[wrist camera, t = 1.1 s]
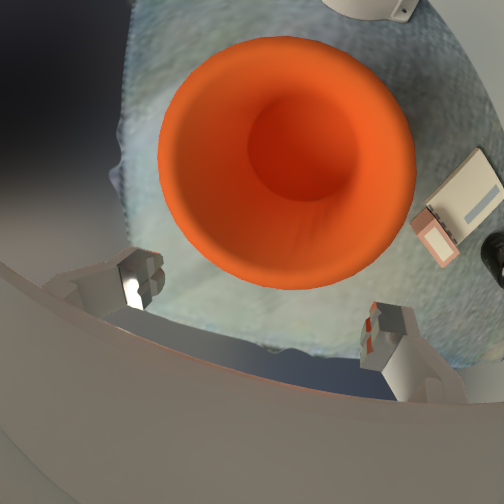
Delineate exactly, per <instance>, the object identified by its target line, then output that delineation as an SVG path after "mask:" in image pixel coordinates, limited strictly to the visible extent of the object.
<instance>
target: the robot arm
mask: <svg viewBox="0 0 504 504" xmlns="http://www.w3.org/2000/svg"><path fill="white" fill-rule="evenodd" d="M322 1H323V2H324V3H325V4H326V5H327V6H329V7H330V8H331V9H333V10H335V11H336V12H338V13H340V14H343V15H345V16H348V17H351V18H355V19H360V20H383V19H388V20H392V21H395V22H400V23H406V22H408V20H409V18H410V17H411V15H412V13H413V11H414V10H415V8H416V6H417V4H418V2H419V1H420V0H322ZM402 10H405V11H406V13H404V12H403V11H402ZM163 264H164V263H163V256H162V255H161V254H160V253H156V252H152V251H149V250H145V249H142V248H138V247H134V246H129V247H127V248H126V249H124V250H123V251H122V252H120V253H119V254H117V255H116V256H115V257H113V258H112V259H111V260H109V261H108V262H107V263H105V262H102V263H98V264H94V265H91V266H87V267H83V268H79V269H75V270H72V271H68V272H64V273H61V274H57V275H56V276H55V277H53V278H52V279H51V280H49V281H48V282H47V283H45V284H44V285H43V286H41V287H39V286H37V285H36V284H34V283H33V282H31V281H29V280H28V279H26V278H25V277H23V276H21V275H20V274H18V273H17V272H15V271H14V270H12V269H11V268H9V267H7V266H6V265H5V264H4V263H2V262H0V504H504V402H495V403H475V404H468V402H467V397H466V393H465V388H464V384H463V380H462V378H461V377H460V376H459V375H458V374H457V373H456V372H455V370H454V369H453V368H452V367H451V366H450V365H449V364H448V363H447V362H446V361H445V360H444V359H443V357H442V356H441V355H440V354H439V353H438V352H437V351H436V350H435V349H434V348H433V347H432V346H431V345H430V344H429V343H428V342H427V341H426V340H425V339H424V338H421V337H420V333H419V329H418V325H417V322H416V318H415V314H414V311H413V309H412V308H411V307H405V306H397V305H391V304H385V303H379V302H373V304H372V306H371V308H370V310H369V311H370V317H369V318H368V319H366V320H365V323H364V325H363V328H362V332H361V338H360V345H361V346H362V348H363V349H362V351H361V353H360V368H365V369H370V370H376V371H382V374H383V376H384V377H385V379H386V381H387V383H388V384H389V386H390V388H391V390H392V391H393V393H394V395H395V397H396V398H397V400H398V401H389V400H380V399H371V398H363V397H355V396H348V395H342V394H336V393H330V392H324V391H319V390H313V389H309V388H304V387H299V386H294V385H290V384H286V383H281V382H277V381H273V380H268V379H265V378H261V377H257V376H254V375H250V374H246V373H242V372H239V371H236V370H232V369H229V368H226V367H222V366H219V365H216V364H213V363H210V362H206V361H204V360H201V359H197V358H194V357H191V356H189V355H186V354H183V353H180V352H178V351H174V350H172V349H170V348H167V347H164V346H161V345H159V344H157V343H154V342H151V341H149V340H146V339H144V338H142V337H139V336H137V335H134V334H132V333H130V332H128V331H125V330H123V329H121V328H118V327H116V326H114V325H112V324H110V323H108V322H105V321H103V320H101V319H99V318H102V317H104V316H106V315H108V314H110V313H112V312H114V311H116V310H119V309H121V308H123V307H125V306H126V305H129V306H132V307H135V308H138V309H140V310H144V309H145V308H146V307H147V306H148V305H149V304H150V303H151V302H152V297H153V296H155V295H158V294H159V293H160V292H161V291H162V289H163V286H164V284H165V273H164V271H163V270H162V268H161V267H162V265H163Z"/></svg>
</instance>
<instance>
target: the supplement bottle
mask: <svg viewBox="0 0 504 504" xmlns="http://www.w3.org/2000/svg"><path fill="white" fill-rule="evenodd" d="M481 259H482V261H483V263H484V265H485V266H486V267H487V269H488V270H489V272H490V273H491V274H492V276H493V277H494V279H495V280H496V282H497V283H498V285H499V286H500V287H501V288H503V289H504V236H503V235H501V234H498V233H496V234H492V235H490V236H489V237H488V238H487V239H486V240H485V241H484V243H483V245H482V248H481Z"/></svg>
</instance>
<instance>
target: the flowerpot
mask: <svg viewBox="0 0 504 504" xmlns="http://www.w3.org/2000/svg"><path fill="white" fill-rule="evenodd" d="M157 160H158V170H159V180H160V184H161V187H162V191H163V194H164V198H165V201H166V204H167V206H168V208H169V210H170V212H171V214H172V216H173V218H174V220H175V222H176V224H177V225H178V227H179V228H180V229H181V231H182V232H183V234H184V235H185V236H186V238H187V239H188V241H189V242H190V243H191V244H192V245H193V246H194V247H195V248H196V249H197V250H198V251H199V252H200V253H201V254H202V255H203V256H204V257H206V258H207V259H208V260H210V261H211V262H212V263H214V264H215V265H216V266H218V267H219V268H221V269H222V270H224V271H226V272H228V273H230V274H232V275H234V276H236V277H237V278H239V279H241V280H244V281H247V282H250V283H253V284H257V285H260V286H263V287H269V288H276V289H283V290H304V289H313V288H318V287H323V286H327V285H332V284H334V283H337V282H339V281H341V280H344V279H346V278H349V277H351V276H353V275H355V274H356V273H358V272H359V271H361V270H362V269H364V268H365V267H367V266H368V265H370V264H371V263H373V262H374V261H375V260H376V259H377V258H378V257H379V256H380V255H381V254H382V253H383V252H384V251H385V250H386V249H387V248H388V247H389V246H390V245H391V243H392V242H393V240H394V239H395V237H396V235H397V234H398V232H399V231H400V229H401V228H402V226H403V225H404V222H405V220H406V217H407V214H408V212H409V209H410V206H411V204H412V201H413V196H414V189H415V182H416V175H417V170H416V156H415V145H414V142H413V138H412V135H411V132H410V129H409V125H408V122H407V119H406V117H405V115H404V113H403V111H402V110H401V108H400V106H399V104H398V103H397V101H396V99H395V98H394V96H393V94H392V93H391V91H390V90H389V89H388V88H387V87H386V86H385V84H384V83H383V82H382V81H381V80H380V79H379V78H378V77H377V76H376V75H375V74H374V73H373V72H372V71H371V70H370V69H369V68H368V67H366V66H365V65H363V64H362V63H361V62H359V61H358V60H356V59H355V58H353V57H352V56H350V55H349V54H347V53H346V52H344V51H341V50H339V49H337V48H334V47H332V46H329V45H327V44H324V43H322V42H319V41H315V40H309V39H304V38H298V37H291V36H279V37H261V38H257V39H253V40H249V41H245V42H242V43H238V44H235V45H233V46H231V47H229V48H227V49H225V50H223V51H221V52H219V53H217V54H215V55H213V56H211V57H210V58H209V59H208V60H206V61H205V62H204V63H203V64H201V65H200V66H199V67H198V68H197V69H195V70H194V71H193V72H192V73H191V74H190V75H189V76H188V78H187V79H186V80H185V81H184V83H183V84H182V85H181V86H180V88H179V89H178V90H177V91H176V93H175V95H174V97H173V99H172V101H171V103H170V105H169V107H168V109H167V111H166V113H165V116H164V120H163V123H162V127H161V130H160V134H159V143H158V155H157Z"/></svg>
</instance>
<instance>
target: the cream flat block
mask: <svg viewBox="0 0 504 504" xmlns="http://www.w3.org/2000/svg"><path fill="white" fill-rule="evenodd" d="M503 199H504V188H503V186H502V184H501V183H500V181H499V179H498V177H497V176H496V174H495V172H494V170H493V169H492V167H491V165H490V164H489V162H488V161H487V159H486V157H485V156H484V154H483V153H482V151H481V150H480V149H479V148H475V149H474V150H473V151H472V152H471V153H470V154H469V156H468V157H467V158H466V159H465V160H464V161H463V162H462V163H461V164H460V165H459V166H458V167H457V168H456V169H455V171H454V172H453V173H452V174H451V175H450V176H449V177H448V178H447V179H446V180H445V181H444V182H443V183H442V184H441V185H440V186H439V187H438V188H437V189H436V190H435V191H434V192H433V193H432V194H431V195H430V196H429V197H428V198H427V199H426V200H425V201H424V203H425V204H426V205H427V206H428V208H429V209H430V210H431V212H432V213H433V214H434V216H435V217H436V218H437V219H438V221H439V222H440V224H441V225H442V226H443V228H444V229H445V230H446V232H447V233H448V235H449V236H450V238H451V239H452V240H453V242H454V243H455V245H456V246H457V245H458V244H459V243H461V242H462V241H463V240H464V239H465V238H466V237H467V236H468V235H469V234H470V233H471V232H472V231H473V230H474V229H475V228H476V227H477V226H478V225H479V224H480V223H481V222H482V221H483V220H484V219H485V218H486V217H487V216H488V215H489V214H490V213H491V212H492V211H493V210H494V209H495V208H496V207H497V206H498V204H499V203H500V202H501V201H502V200H503Z"/></svg>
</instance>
